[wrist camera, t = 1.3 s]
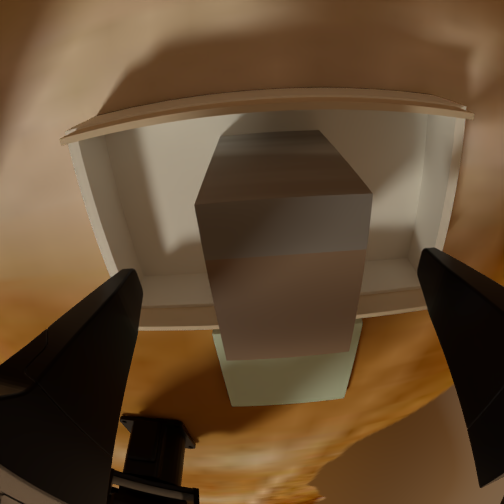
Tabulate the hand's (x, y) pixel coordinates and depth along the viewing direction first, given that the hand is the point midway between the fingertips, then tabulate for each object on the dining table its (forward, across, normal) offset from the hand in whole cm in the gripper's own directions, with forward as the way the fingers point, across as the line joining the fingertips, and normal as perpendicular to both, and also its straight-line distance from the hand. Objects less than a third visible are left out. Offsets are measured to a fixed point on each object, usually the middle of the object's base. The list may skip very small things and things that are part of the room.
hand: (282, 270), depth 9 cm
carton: (+6, 0, 0) cm, 6 cm away
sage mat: (+6, -1, +13) cm, 14 cm away
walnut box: (+5, 0, 0) cm, 5 cm away
